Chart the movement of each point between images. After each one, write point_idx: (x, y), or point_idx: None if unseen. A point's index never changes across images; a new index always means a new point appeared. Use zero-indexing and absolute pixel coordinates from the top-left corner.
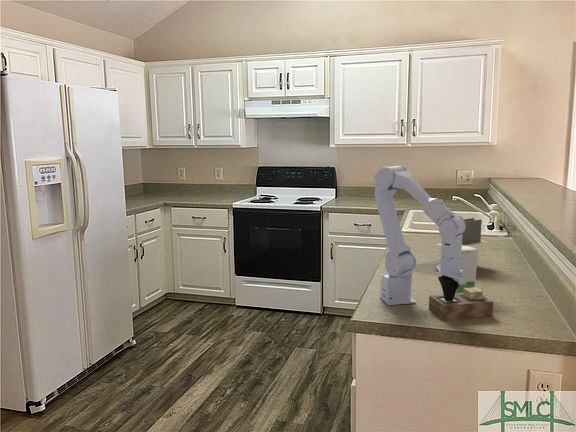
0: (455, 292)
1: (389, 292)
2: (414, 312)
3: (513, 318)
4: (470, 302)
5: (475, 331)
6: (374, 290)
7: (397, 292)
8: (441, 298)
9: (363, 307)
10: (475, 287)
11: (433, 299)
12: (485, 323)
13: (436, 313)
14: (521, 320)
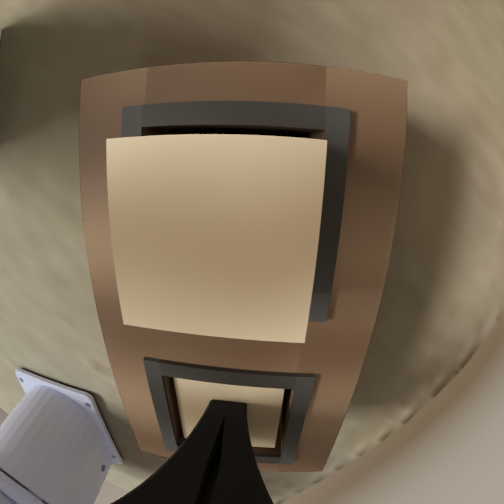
0: (253, 455)
1: (97, 489)
2: None
3: (424, 15)
4: (351, 323)
5: (474, 341)
6: (4, 405)
7: (88, 473)
8: (188, 431)
9: None
10: (116, 143)
11: None
12: (444, 236)
13: None
14: (454, 6)
